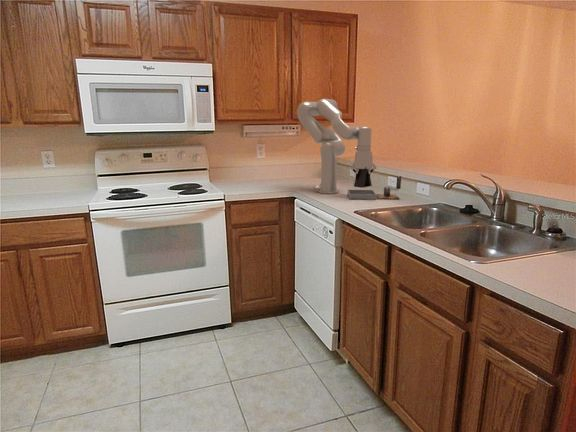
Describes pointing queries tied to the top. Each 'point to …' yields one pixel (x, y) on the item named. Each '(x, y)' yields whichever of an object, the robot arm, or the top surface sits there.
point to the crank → (398, 186)
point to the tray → (362, 195)
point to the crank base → (388, 197)
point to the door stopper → (362, 179)
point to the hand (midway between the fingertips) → (362, 180)
